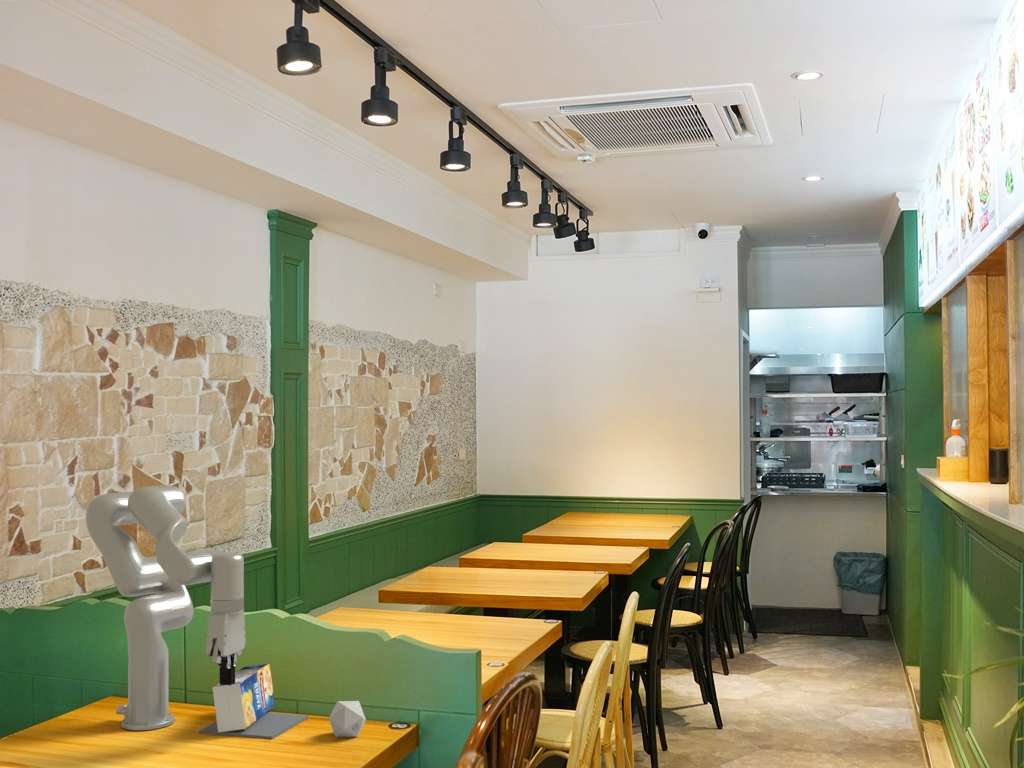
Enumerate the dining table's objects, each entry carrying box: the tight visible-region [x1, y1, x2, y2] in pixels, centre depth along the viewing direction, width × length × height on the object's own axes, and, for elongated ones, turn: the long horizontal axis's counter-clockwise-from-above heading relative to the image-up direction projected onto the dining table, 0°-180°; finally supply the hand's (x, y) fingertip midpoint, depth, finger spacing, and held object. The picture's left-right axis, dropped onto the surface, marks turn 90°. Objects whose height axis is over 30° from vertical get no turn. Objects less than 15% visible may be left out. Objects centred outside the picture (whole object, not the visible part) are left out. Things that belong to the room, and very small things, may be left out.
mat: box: [198, 711, 309, 740], centre depth 246 cm, size 20×18×1 cm
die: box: [328, 700, 367, 738], centre depth 237 cm, size 8×9×10 cm
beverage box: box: [212, 662, 276, 732], centre depth 250 cm, size 7×11×22 cm
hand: (227, 684), depth 235 cm, fingers closed
